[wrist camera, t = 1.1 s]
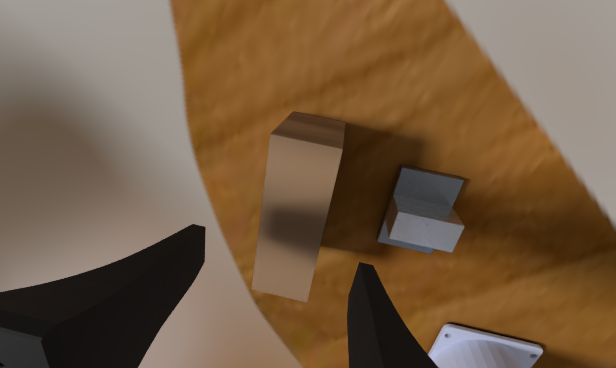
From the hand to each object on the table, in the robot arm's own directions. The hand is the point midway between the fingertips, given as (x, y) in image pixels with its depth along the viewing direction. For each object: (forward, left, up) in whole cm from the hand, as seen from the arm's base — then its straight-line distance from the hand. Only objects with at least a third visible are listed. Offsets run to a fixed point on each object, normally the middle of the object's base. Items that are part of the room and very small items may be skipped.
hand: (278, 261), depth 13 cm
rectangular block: (0, 0, -9) cm, 9 cm away
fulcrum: (0, -8, -9) cm, 12 cm away
